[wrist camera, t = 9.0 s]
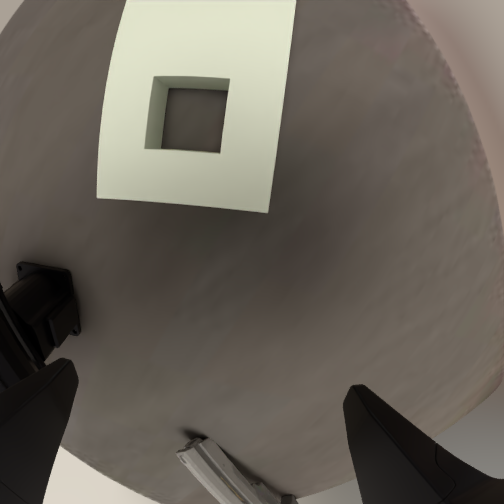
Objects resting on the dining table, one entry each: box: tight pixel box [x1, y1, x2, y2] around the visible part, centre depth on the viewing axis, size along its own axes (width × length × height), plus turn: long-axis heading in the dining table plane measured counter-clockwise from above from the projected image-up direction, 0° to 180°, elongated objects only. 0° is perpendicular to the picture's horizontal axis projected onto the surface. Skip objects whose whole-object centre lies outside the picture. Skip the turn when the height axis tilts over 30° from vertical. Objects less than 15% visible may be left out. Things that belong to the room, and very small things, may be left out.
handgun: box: [176, 438, 298, 504], centre depth 30 cm, size 31×3×15 cm, turn 29°
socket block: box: [97, 0, 296, 213], centre depth 13 cm, size 20×10×4 cm, turn 173°
